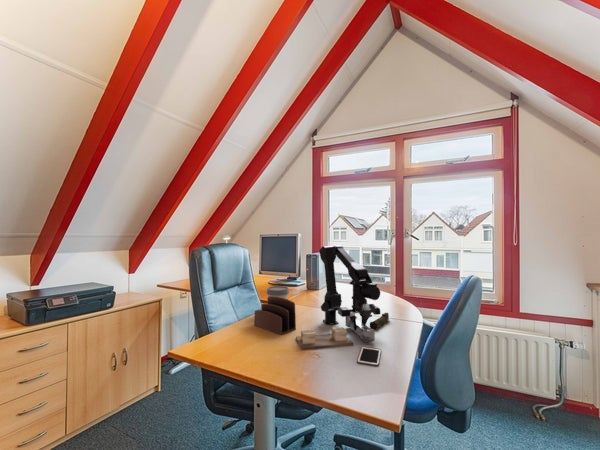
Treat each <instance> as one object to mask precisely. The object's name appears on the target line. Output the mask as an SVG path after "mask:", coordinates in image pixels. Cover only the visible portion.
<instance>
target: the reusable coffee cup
mask: <svg viewBox="0 0 600 450" xmlns="http://www.w3.org/2000/svg"><path fill="white" fill-rule="evenodd" d="M289 293H290V290H289V287H287V286H284V285H282V286H281V285H276V286H275V285H272V286H269V287H267V288H266V295H267V298H266V299H267V302H268V297H270V296H272V297H280V298H284V299H287V300H289Z"/></svg>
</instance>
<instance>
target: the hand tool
mask: <svg viewBox="0 0 600 450" xmlns="http://www.w3.org/2000/svg"><path fill="white" fill-rule="evenodd" d="M389 320H390V319H389V313H388V312H384V313H382V314H381V316H379V317H378V318H377V319H375V320H373V321H370V322H369V328H371V329H374V330H375V331H376V330H378V329H379V328H380V327H381V326H383V325H384V324H387V323H388V322H389Z"/></svg>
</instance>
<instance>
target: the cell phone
mask: <svg viewBox="0 0 600 450" xmlns="http://www.w3.org/2000/svg"><path fill="white" fill-rule="evenodd" d="M381 355H382V349H381V348H375V347H369V346H361V348H360V351H359V354H358V357H357V361H356V363H357V364H358V365H364V366H370V367H375V368H376V367H379V366H380V361H381Z"/></svg>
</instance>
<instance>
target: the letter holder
mask: <svg viewBox="0 0 600 450" xmlns="http://www.w3.org/2000/svg"><path fill="white" fill-rule="evenodd" d="M267 298H268V301H267V303H264V302H263V303H261V304H260V305H261V309H256V310H254V322H253V324H254V326H255V327H258V328H261V329H263V330H266V331H268V332H272V333H275V334H277V335H280V336H283V335H287V334H288V333H291V332H294V331H296V329H297V325H296V323H297V322H296V321H297V320H296V319H297V318H296V317H297V316H296V304H295V302H294V301H292V300H289V299H288V300H287V299H284V298H280V297H272V296H270V297H268V296H267Z"/></svg>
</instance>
